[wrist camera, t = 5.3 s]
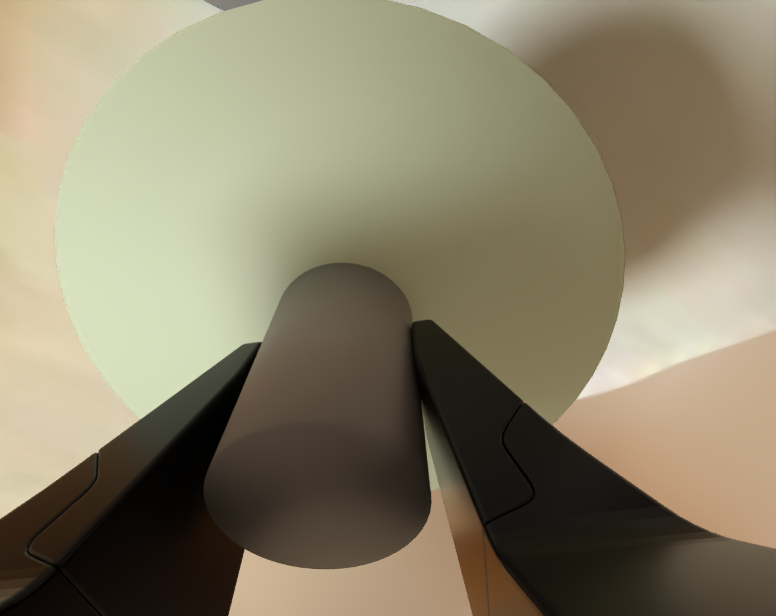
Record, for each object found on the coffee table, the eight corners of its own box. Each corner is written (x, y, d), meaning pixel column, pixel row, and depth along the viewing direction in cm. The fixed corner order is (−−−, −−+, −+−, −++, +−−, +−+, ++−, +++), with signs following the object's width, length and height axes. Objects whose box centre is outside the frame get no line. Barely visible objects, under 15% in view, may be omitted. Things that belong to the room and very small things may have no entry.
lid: (230, -207, 6) (-186, -909, 2) (720, 256, 10) (1011, 432, 5) (14, 351, 11) (-248, 563, 6) (397, 526, 15) (403, 741, 10)
